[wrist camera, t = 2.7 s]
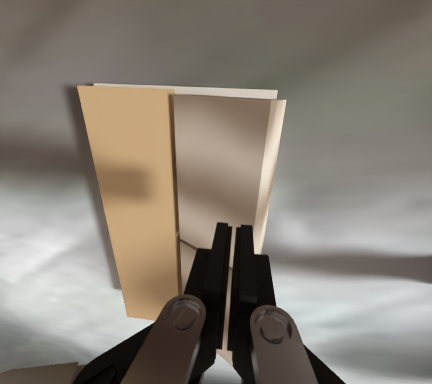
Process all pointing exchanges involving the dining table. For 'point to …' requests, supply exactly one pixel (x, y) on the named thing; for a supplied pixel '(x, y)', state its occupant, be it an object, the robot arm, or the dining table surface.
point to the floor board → (142, 184)
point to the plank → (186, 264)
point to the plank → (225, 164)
